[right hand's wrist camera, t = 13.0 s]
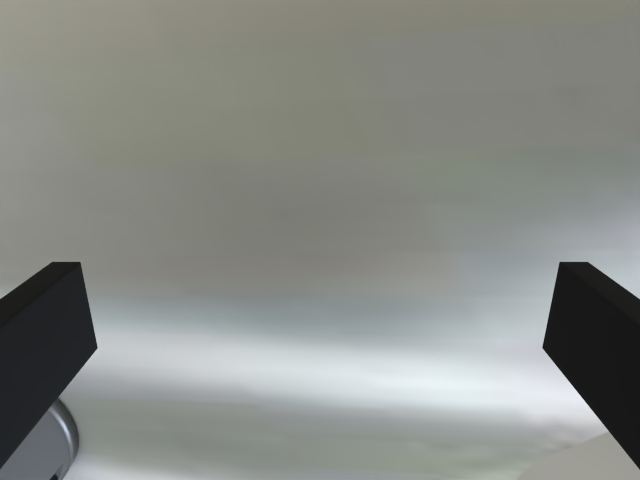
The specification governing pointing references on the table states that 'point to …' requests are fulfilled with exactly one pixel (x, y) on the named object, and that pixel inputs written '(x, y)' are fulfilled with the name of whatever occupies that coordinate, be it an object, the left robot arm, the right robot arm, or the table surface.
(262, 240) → the table surface
